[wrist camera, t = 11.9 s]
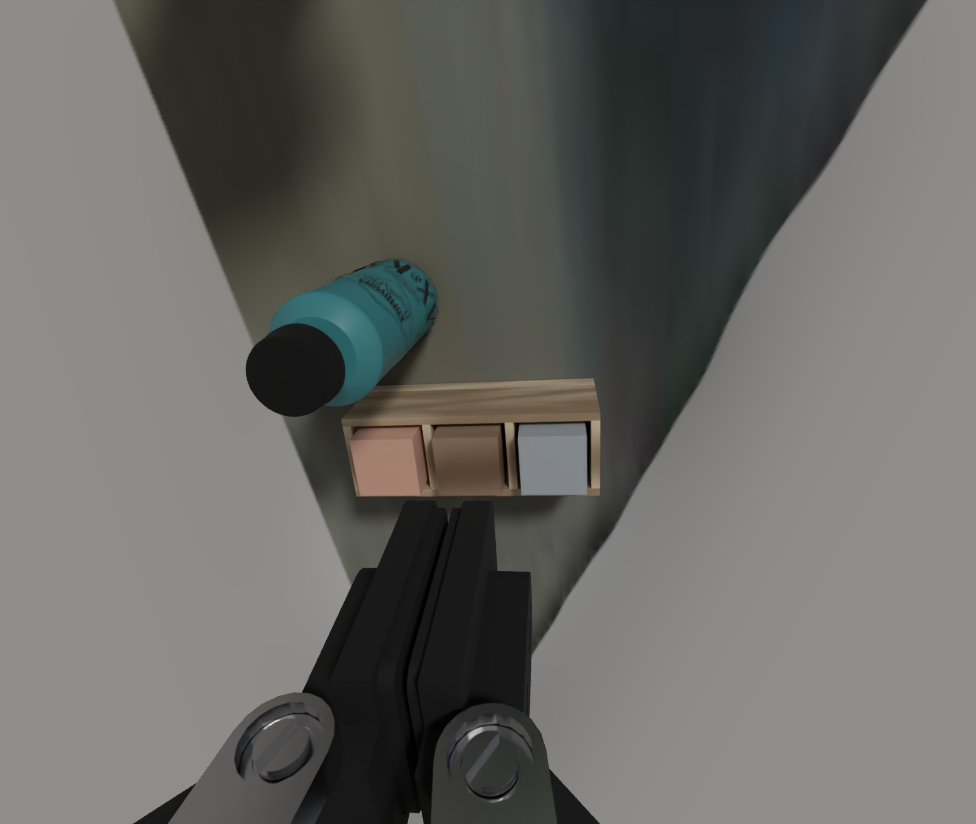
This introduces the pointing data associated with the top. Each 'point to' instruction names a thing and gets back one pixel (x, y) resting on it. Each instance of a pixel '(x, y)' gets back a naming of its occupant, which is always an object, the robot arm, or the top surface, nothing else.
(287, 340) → the beverage bottle
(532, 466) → the grey cube
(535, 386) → the wooden compartment box
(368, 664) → the robot arm
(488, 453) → the brown cube
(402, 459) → the salmon pink cube
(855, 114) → the top surface
